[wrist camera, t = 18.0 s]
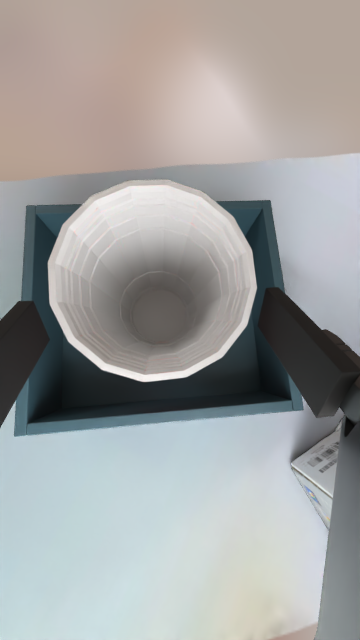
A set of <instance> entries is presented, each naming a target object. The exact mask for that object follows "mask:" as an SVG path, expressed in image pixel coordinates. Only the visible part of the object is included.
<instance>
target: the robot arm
mask: <svg viewBox="0 0 360 640" xmlns="http://www.w3.org/2000/svg"><path fill="white" fill-rule="evenodd" d="M257 326H258V327H259V329H260V330H261V332H262V334H263V335H264V337H265V338H266V340H267V341H268V343H269V344H270V346H271V348H272V349H273V351H274V352H275V354H276V355H277V357H278V358H279V360H280V362H281V363H282V365H283V366H284V368H285V369H286V371H287V373H288V374H289V376H290V377H291V379H292V380H293V382H294V383H295V385H296V387H297V388H298V390H299V391H300V393H301V394H302V396H303V397H304V399H305V401H306V402H307V404H308V405H309V407H310V408H311V410H312V411H313V413H314V415H315V416H316V418H318V417H328V416H334V415H335V413H336V411H337V410H338V408H339V407H340V408H341V410H342V411H343V412H344V414H345V415H344V417H343V418H342V420H341V421H340V422H339V424H338V425H337V427H336V429H335V430H336V431H339V429H340V428H341V433H340V441H339V450H338V458H337V467H336V475H335V484H334V492H333V501H332V509H331V518H330V526H329V535H328V543H327V552H326V561H325V569H324V578H323V586H322V595H321V603H320V612H319V620H318V627H317V632H316V635H315V638H314V640H360V357H359V356H358V355H357V354H356V353H355V352H354V351H352V349H351V348H350V347H348V346H347V345H345V343H344V342H343V341H342V340H341V339H340V338H339V337H338V336H337V335H335V334H333V333H331V332H330V331H328V330H321V329H320V328H319V327H318V326H317V325H316V324H315V323H314V322H313V321H312V320H311V319H310V318H309V317H308V316H307V315H306V314H305V313H304V312H303V311H302V310H301V309H300V308H299V307H298V306H297V305H296V304H295V303H294V302H293V301H292V300H291V299H290V298H289V297H288V296H287V295H286V294H285V293H284V292H283V291H282V290H281V289H280V288H279V287H270V288H266V290H265V294H264V298H263V303H262V307H261V312H260V316H259V320H258V325H257ZM49 341H50V338H49V336H48V334H47V331H46V329H45V327H44V324H43V322H42V320H41V317H40V315H39V313H38V310H37V308H36V306H35V303H34V301H18V302H17V304H16V305H15V306H14V307H13V308H12V309H11V310H10V311H9V312H8V313H7V314H6V315H5V316H4V317H3V318H2V319H1V320H0V427H1V425H2V424H3V422H4V420H5V418H6V416H7V415H8V413H9V411H10V409H11V408H12V406H13V404H14V402H15V401H16V399H17V397H18V395H19V394H20V392H21V390H22V388H23V386H24V385H25V383H26V381H27V379H28V378H29V376H30V374H31V372H32V371H33V369H34V367H35V365H36V364H37V362H38V360H39V358H40V356H41V355H42V353H43V351H44V349H45V348H46V346H47V344H48V342H49Z"/></svg>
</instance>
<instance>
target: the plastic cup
mask: <svg viewBox="0 0 360 640" xmlns="http://www.w3.org/2000/svg"><path fill="white" fill-rule="evenodd" d="M48 281H49V304H50V306H51V308H52V310H53V312H54V314H55V316H56V318H57V320H58V322H59V324H60V326H61V328H62V330H63V332H64V334H65V336H66V338H67V340H68V342H69V343H70V344H72V345H73V346H74V347H75V348H76V349H78V350H79V351H80V352H81V353H82V354H84V355H85V356H86V357H87V358H88V359H90V360H91V361H92V362H93V363H94V364H96V365H97V366H98V367H99V368H100V369H102V370H104V371H108V372H111V373H114V374H118V375H121V376H125V377H128V378H131V379H135V380H138V381H141V382H150V381H159V380H168V379H176V378H185V377H188V376H190V375H191V374H193V373H195V372H197V371H199V370H200V369H202V368H204V367H206V366H208V365H209V364H211V363H213V362H215V361H216V360H218V359H220V358H222V357H223V356H224V355H225V353H226V352H227V351H228V349H229V348H230V347H231V346H232V344H233V343H234V342H235V340H236V339H237V338H238V336H239V335H240V334H241V333H242V331H243V330H244V329H245V327H246V326H247V324H248V320H249V316H250V312H251V309H252V305H253V301H254V297H255V294H256V290H257V284H256V276H255V269H254V261H253V253H252V249H251V247H250V245H249V244H248V242H247V240H246V238H245V237H244V235H243V233H242V231H241V229H240V228H239V226H238V224H237V222H236V220H235V219H234V217H233V216H232V215H231V214H230V213H228V212H227V211H226V210H225V209H224V208H222V207H221V206H220V205H219V204H218V203H216V202H215V201H214V200H213V199H212V198H210V197H209V196H208V195H207V194H206V193H204V192H202V191H199V190H196V189H193V188H191V187H188V186H185V185H182V184H179V183H176V182H173V181H170V180H167V179H162V180H128V181H125V182H123V183H120V184H118V185H116V186H113V187H111V188H109V189H106V190H104V191H102V192H99V193H97V194H94V195H92V196H90V197H89V198H88V199H87V200H86V201H85V203H84V204H83V205H82V206H81V207H80V208H79V209H78V210H77V211H76V212H75V213H74V214H73V215H72V216H71V217H70V218H69V219H68V220H67V221H66V222H65V223H64V224H63V225H62V227H61V230H60V233H59V235H58V238H57V240H56V243H55V245H54V248H53V250H52V253H51V255H50V258H49V260H48Z"/></svg>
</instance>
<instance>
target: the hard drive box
mask: <svg viewBox="0 0 360 640" xmlns="http://www.w3.org/2000/svg"><path fill="white" fill-rule="evenodd" d="M340 433H341V428H340V429H339V431H335V432H334V433H332V434H331V435H330V436H328V437H326V438H324V439H323V440H322V441H320V442H319V443H317V444H316V445H314V446H313V447H312V448H311V449H310V450H308V451H307V452H305V453H304V454H302V455H301V456H300V457H298V458H297V459H295V460H294V461H293V462H292V463H291V465H292V470H293V472H294V474H295V475H296V477H297V479H298V480H299V482H300V484H301V486H302V487H303V489H304V491H305V492H306V494H307V496H308V497H309V499H310V501H311V502H312V504H313V505H314V507H315V509H316V511H317V512H318V514H319V516H320V517H321V519H322V520H323V522H324V524H325V525H326V527H327V529H328V530H329V526H330V518H331V509H332V501H333V492H334V484H335V475H336V467H337V458H338V450H339V441H340Z"/></svg>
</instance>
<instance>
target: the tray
mask: <svg viewBox="0 0 360 640" xmlns="http://www.w3.org/2000/svg"><path fill="white" fill-rule="evenodd" d="M215 202H216V203H218V204H219V205H220V206H221V207H222V208H224V209H225V210H226V211H227V212H228V213H230V214H231V215H232V216H233V217H234V219H235V220H236V222H237V224H238V226H239V228H240V229H241V231H242V233H243V235H244V237H245V238H246V240H247V242H248V244H249V245H250V247H251V249H252V253H253V261H254V269H255V276H256V284H257V290H256V294H255V297H254V301H253V305H252V309H251V312H250V316H249V320H248V324H247V326H246V327H245V329H244V330H243V331H242V333H241V334H240V335H239V336H238V338H237V339H236V340H235V342H234V343H233V344H232V346H231V347H230V348H229V349H228V351H227V352H226V353H225V355H224V356H223V357H222V358H220V359H218V360H216V361H215V362H213V363H211V364H209V365H208V366H206V367H204V368H202V369H200V370H199V371H197V372H195V373H193V374H191V375H190V376H188V377H185V378H176V379H168V380H159V381H150V382H141V381H138V380H135V379H131V378H128V377H125V376H121V375H118V374H114V373H111V372H108V371H104V370H102V369H100V368H99V367H98V366H97V365H96V364H94V363H93V362H92V361H91V360H90V359H88V358H87V357H86V356H85V355H84V354H82V353H81V352H80V351H79V350H78V349H76V348H75V347H74V346H73V345H72V344H70V343H69V342H68V340H67V338H66V336H65V334H64V332H63V330H62V328H61V326H60V324H59V322H58V320H57V318H56V316H55V314H54V312H53V310H52V308H51V306H50V304H49V281H48V260H49V258H50V255H51V253H52V250H53V248H54V245H55V243H56V240H57V238H58V235H59V233H60V230H61V227H62V225H63V224H64V223H65V222H66V221H67V220H68V219H69V218H70V217H71V216H72V215H73V214H74V213H75V212H76V211H77V210H78V209H79V208H80V207H81V206H82V205H83V204H72V205H37V206H36V205H29V206H26V220H25V239H24V258H23V278H22V297H21V301H34V303H35V306H36V308H37V310H38V313H39V315H40V317H41V320H42V322H43V324H44V327H45V329H46V331H47V334H48V336H49V338H50V341H49V342H48V344H47V346H46V348H45V349H44V351H43V353H42V355H41V356H40V358H39V360H38V362H37V364H36V365H35V367H34V369H33V371H32V372H31V374H30V376H29V378H28V379H27V381H26V383H25V385H24V386H23V388H22V390H21V392H20V394H19V395H18V397H17V399H16V411H15V430H14V436H15V437H17V436H26V435H39V434H49V433H60V432H71V431H82V430H93V429H103V428H114V427H125V426H136V425H147V424H157V423H168V422H179V421H190V420H201V419H211V418H222V417H233V416H244V415H255V414H265V413H276V412H287V411H299V410H304V409H303V403H302V397H301V393H300V391H299V390H298V388H297V387H296V385H295V383H294V382H293V380H292V379H291V377H290V376H289V374H288V373H287V371H286V369H285V368H284V366H283V365H282V363H281V362H280V360H279V358H278V357H277V355H276V354H275V352H274V351H273V349H272V348H271V346H270V344H269V343H268V341H267V340H266V338H265V337H264V335H263V334H262V332H261V330H260V329H259V327H258V326H257V325H258V320H259V316H260V312H261V307H262V303H263V298H264V294H265V290H266V288H270V287H279V288H280V289H281V290H282V291H283V292H284V293H285V290H284V283H283V277H282V271H281V264H280V258H279V252H278V245H277V239H276V233H275V227H274V220H273V214H272V208H271V201H270V200H262V201H215Z"/></svg>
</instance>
